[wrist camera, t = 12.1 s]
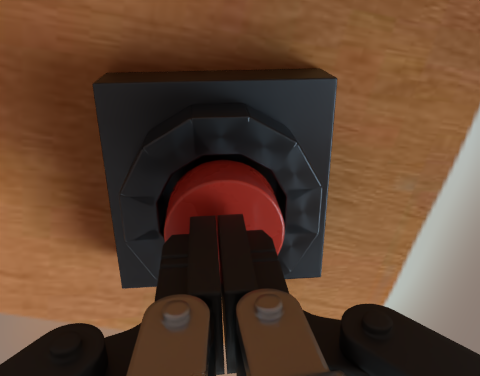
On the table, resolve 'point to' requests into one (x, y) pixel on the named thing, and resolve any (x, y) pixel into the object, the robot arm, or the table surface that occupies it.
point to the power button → (225, 199)
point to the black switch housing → (215, 152)
